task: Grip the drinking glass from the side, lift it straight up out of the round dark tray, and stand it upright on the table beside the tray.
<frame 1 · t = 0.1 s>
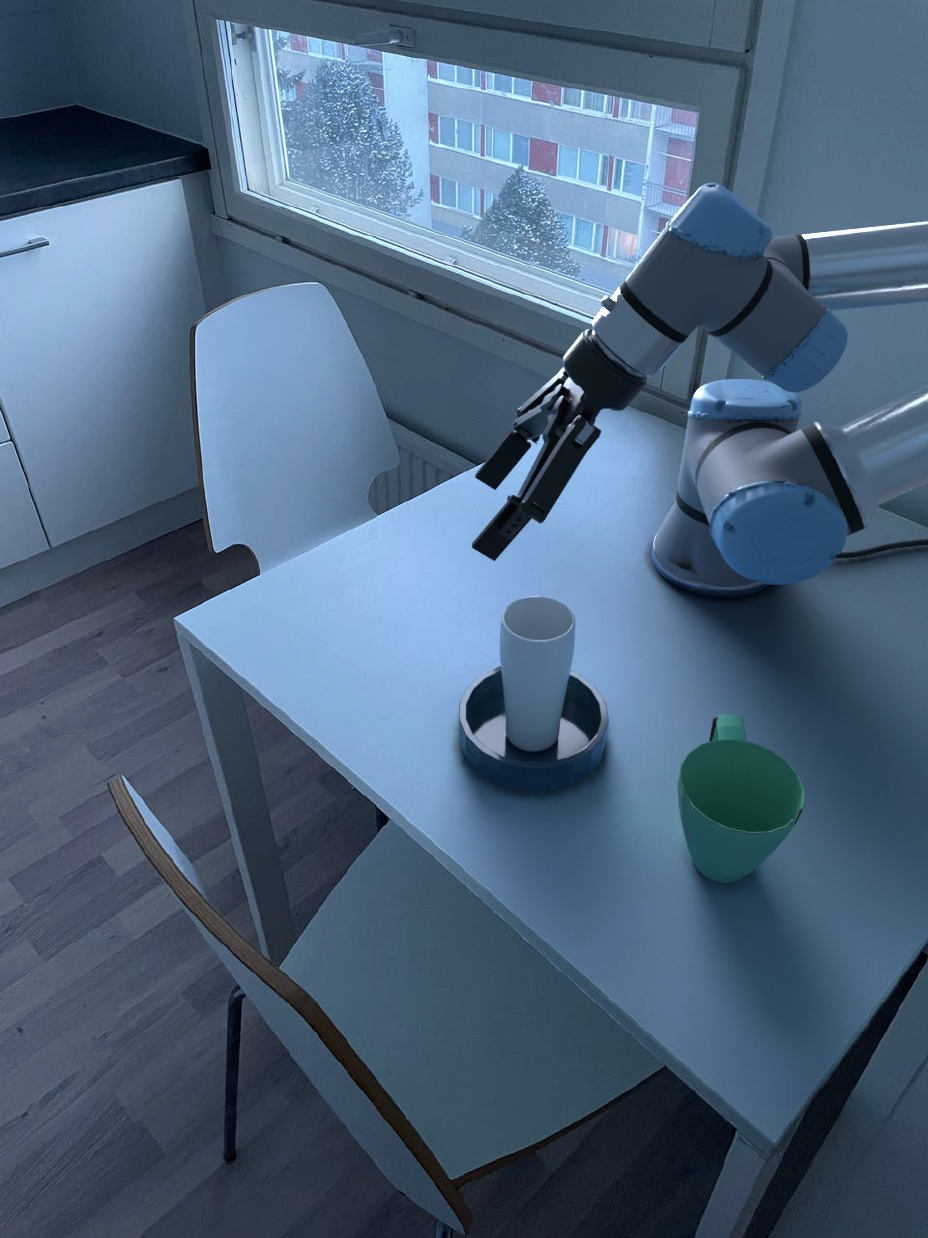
hand: (484, 515, 92), 15 cm above the table, tool tilted 35°, fingers open, 13 cm apart
mug: (717, 838, 79), on the table
round dark tray: (531, 736, 89), on the table
drinking glass: (531, 736, 89), resting on round dark tray
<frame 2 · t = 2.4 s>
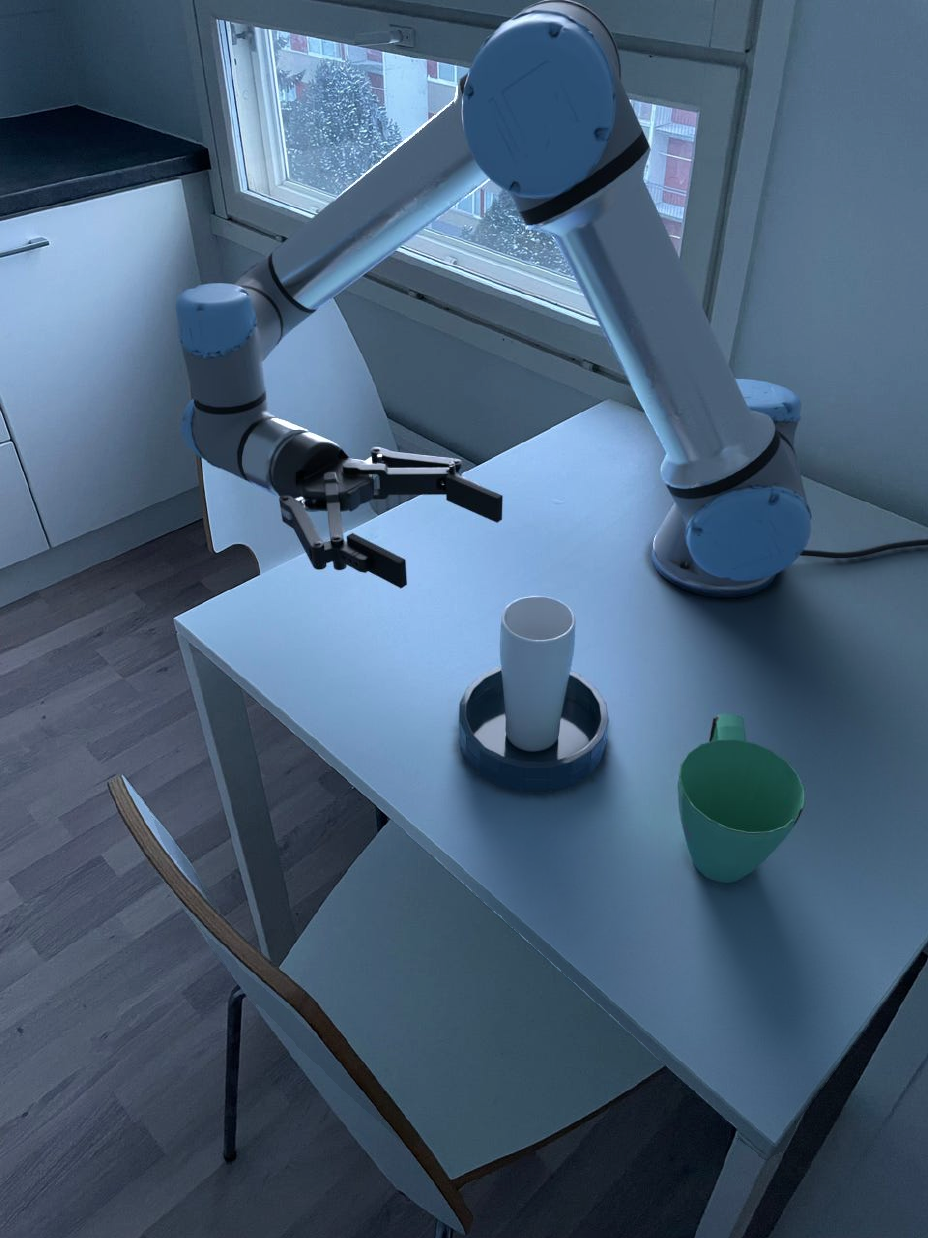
hand: (454, 540, 81), 19 cm above the table, tool horizontal, fingers open, 13 cm apart
nothing on the table moved.
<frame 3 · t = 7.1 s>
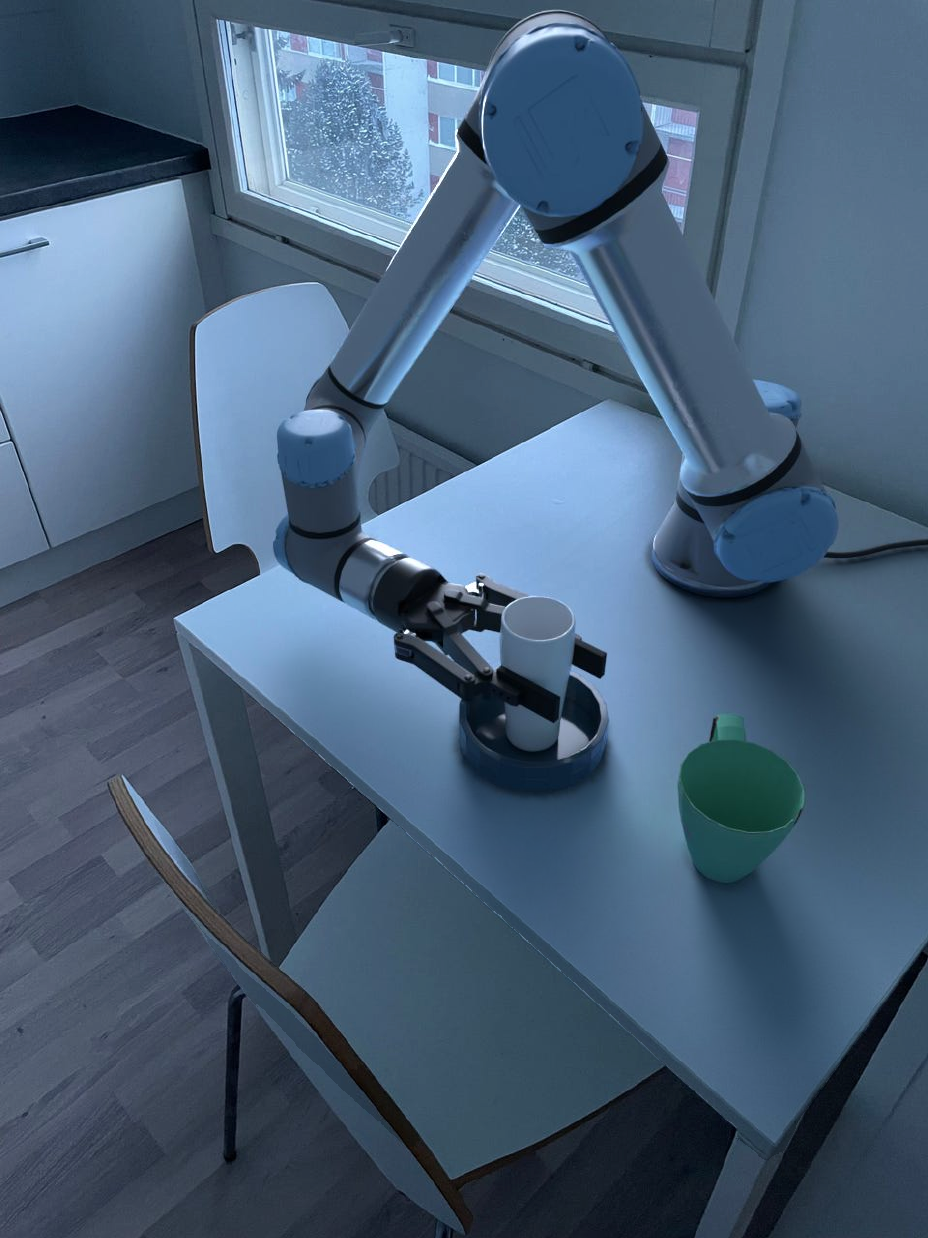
hand: (580, 687, 80), 10 cm above the table, tool horizontal, fingers closed on drinking glass, 7 cm apart
drinking glass: (531, 736, 89), resting on round dark tray, touching gripper
everything else where it was.
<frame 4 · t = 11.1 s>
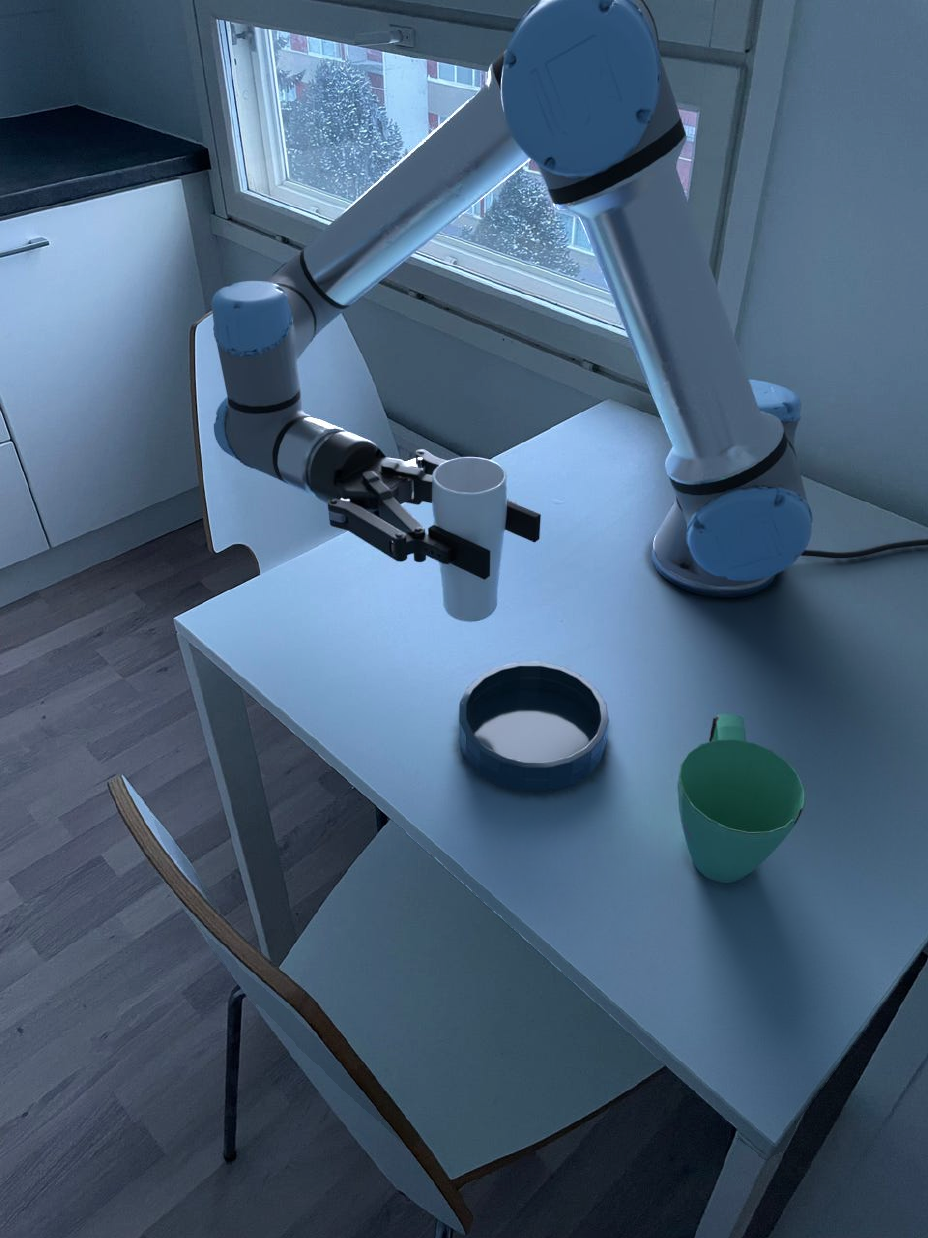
hand: (513, 546, 80), 20 cm above the table, tool horizontal, fingers closed on drinking glass, 7 cm apart
drinking glass: (470, 609, 88), point 10 cm above the table, touching gripper
everything else where it was.
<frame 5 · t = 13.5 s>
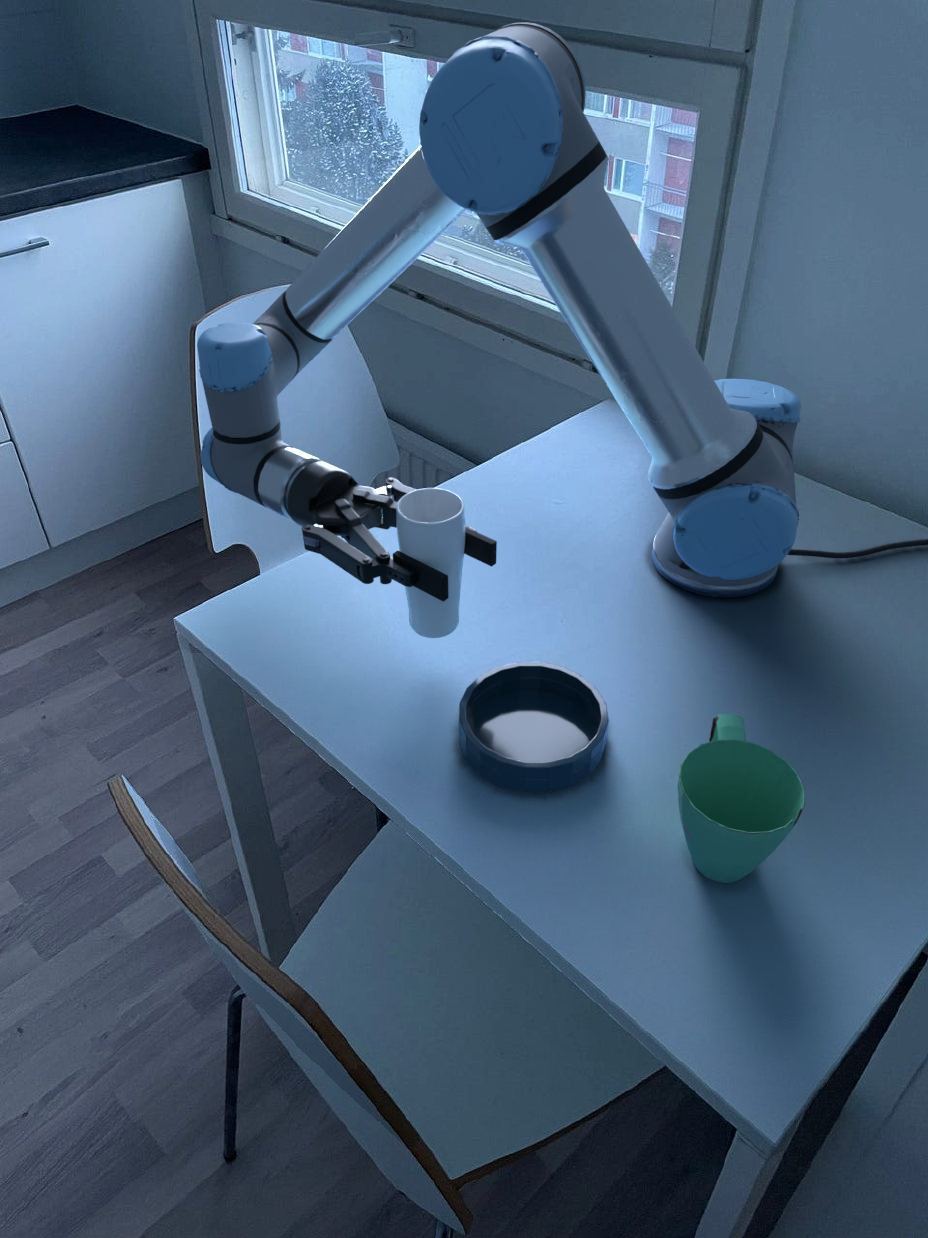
hand: (470, 570, 87), 14 cm above the table, tool horizontal, fingers closed on drinking glass, 7 cm apart
drinking glass: (434, 626, 96), point 4 cm above the table, touching gripper
everything else where it was.
when the fingers open (9 cm above the table, at t = 15.2 s): drinking glass stays where it is, on the table.
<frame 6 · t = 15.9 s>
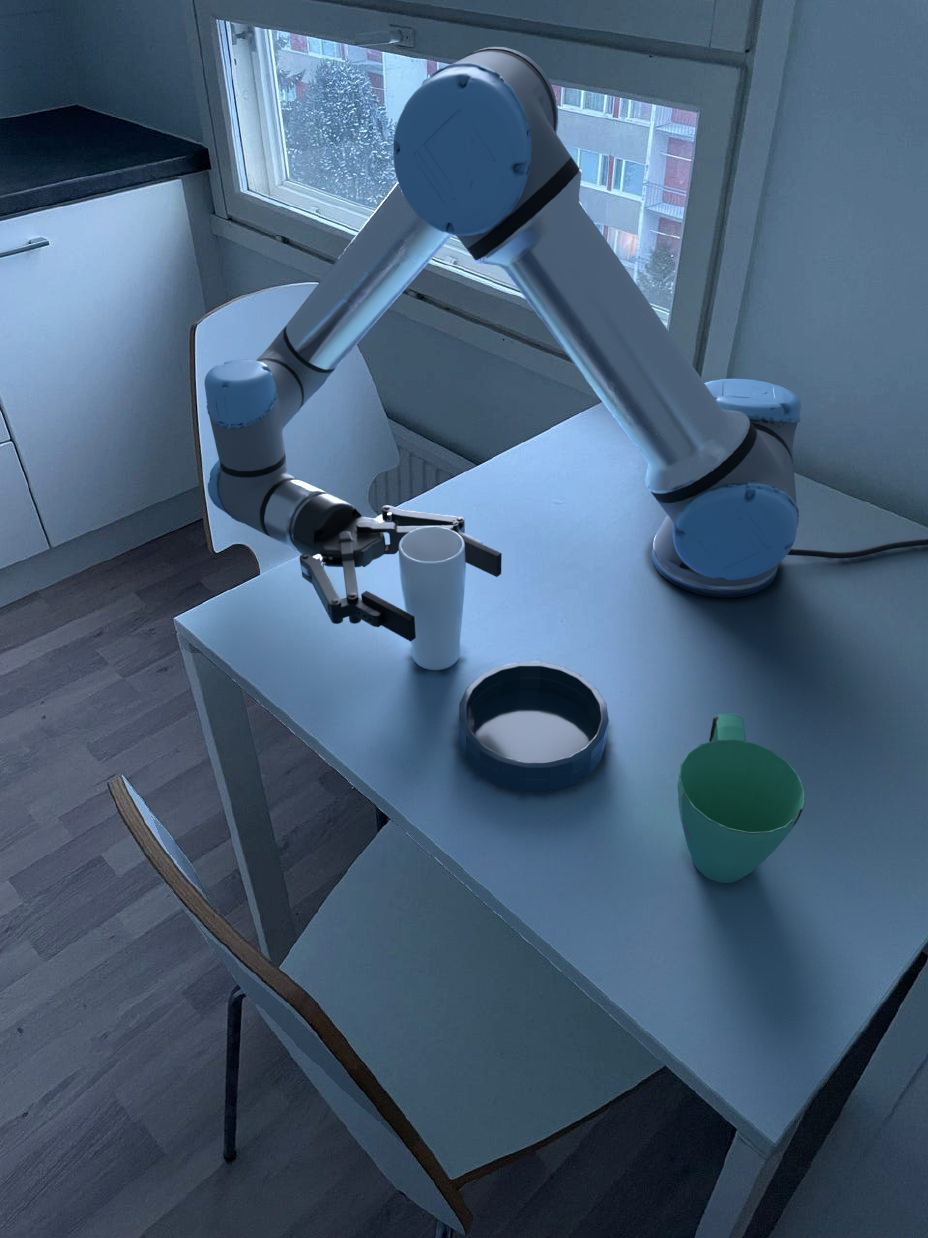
hand: (458, 596, 90), 10 cm above the table, tool horizontal, fingers open, 13 cm apart
drinking glass: (436, 657, 98), on the table
everything else where it was.
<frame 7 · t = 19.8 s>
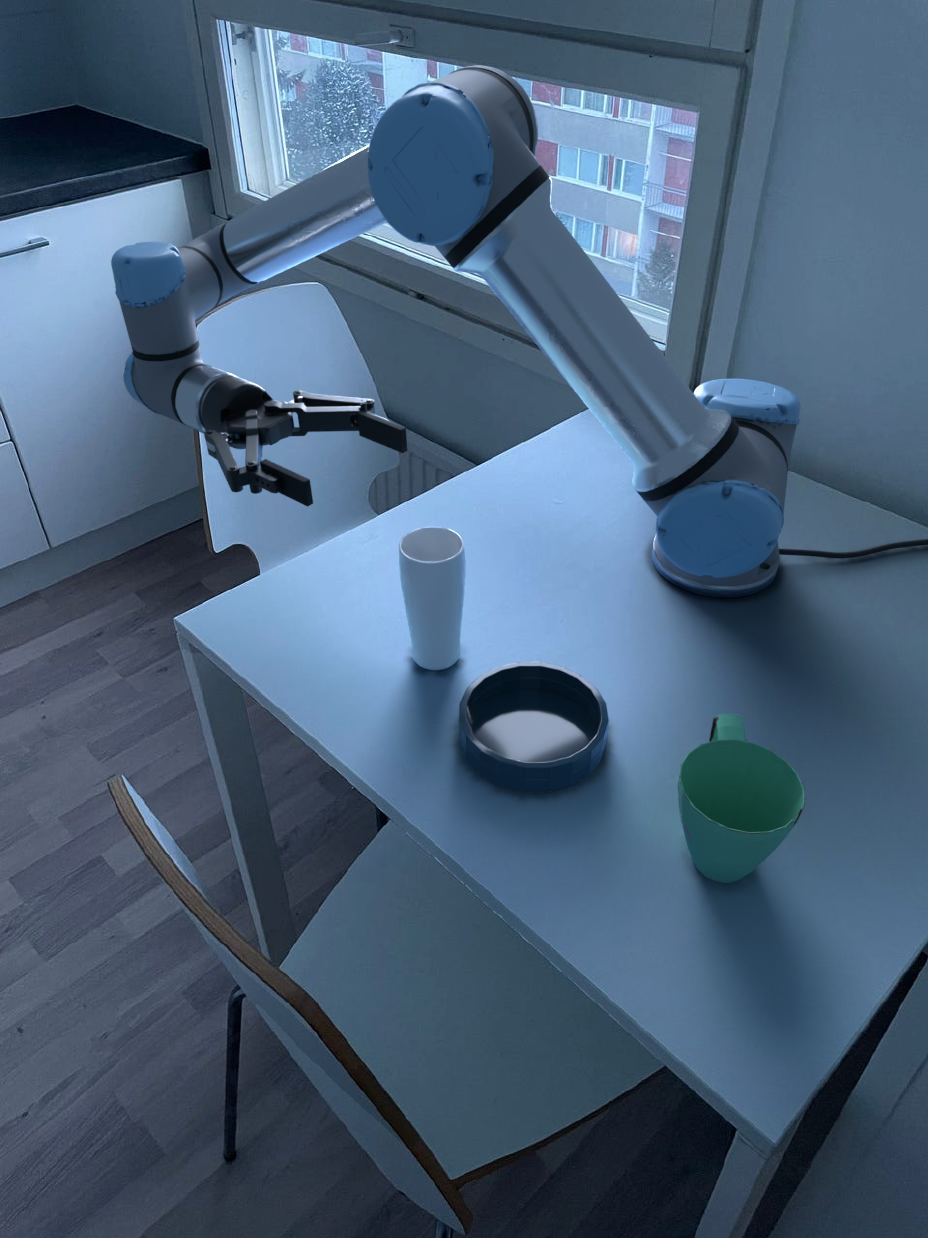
hand: (358, 465, 90), 20 cm above the table, tool horizontal, fingers open, 13 cm apart
nothing on the table moved.
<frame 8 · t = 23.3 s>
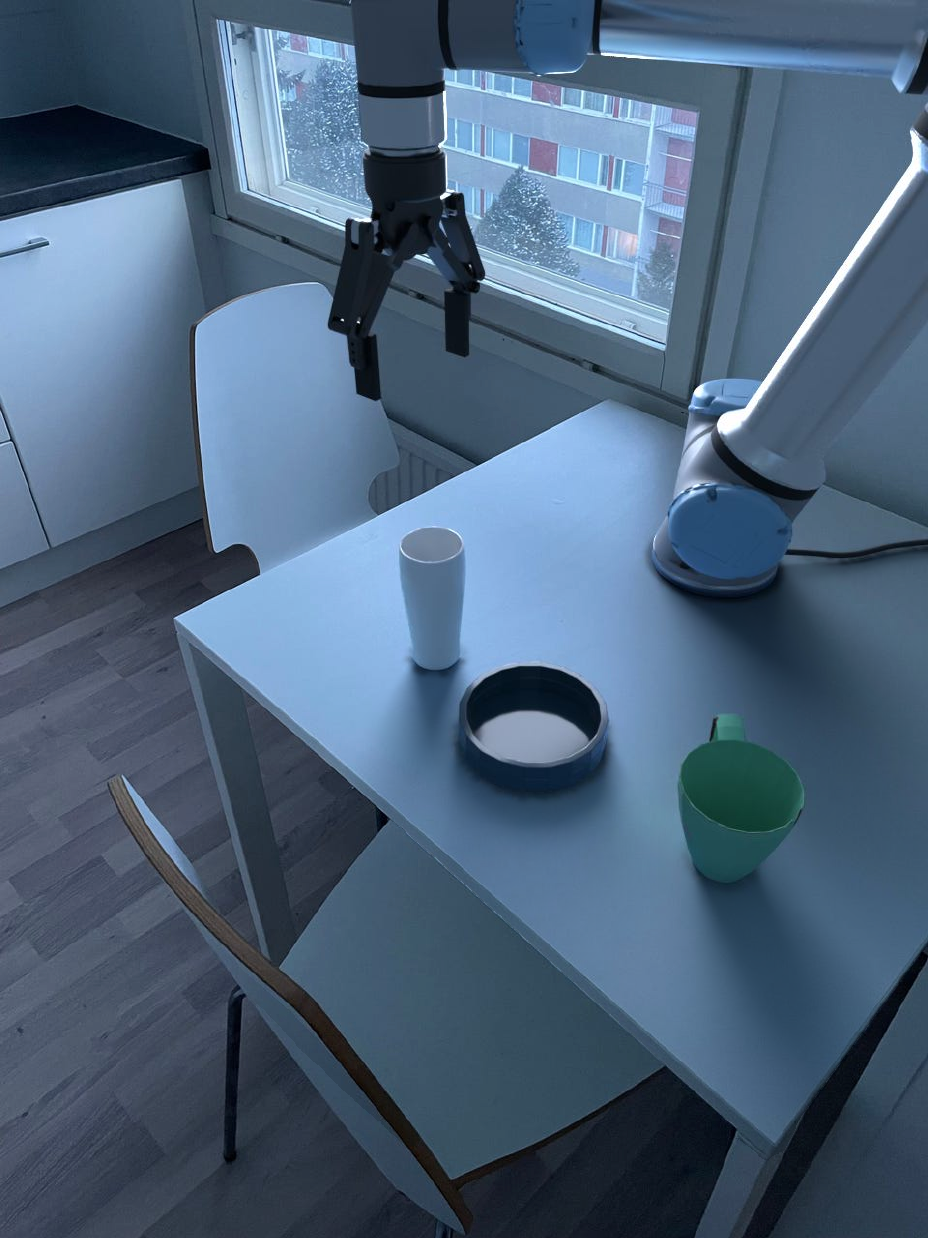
hand: (414, 374, 92), 27 cm above the table, tool pointing down, fingers open, 13 cm apart
nothing on the table moved.
at the end: drinking glass inside the target area (0.0 cm from its centre), on the table; drinking glass tilted 0°; the gripper is holding nothing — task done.
